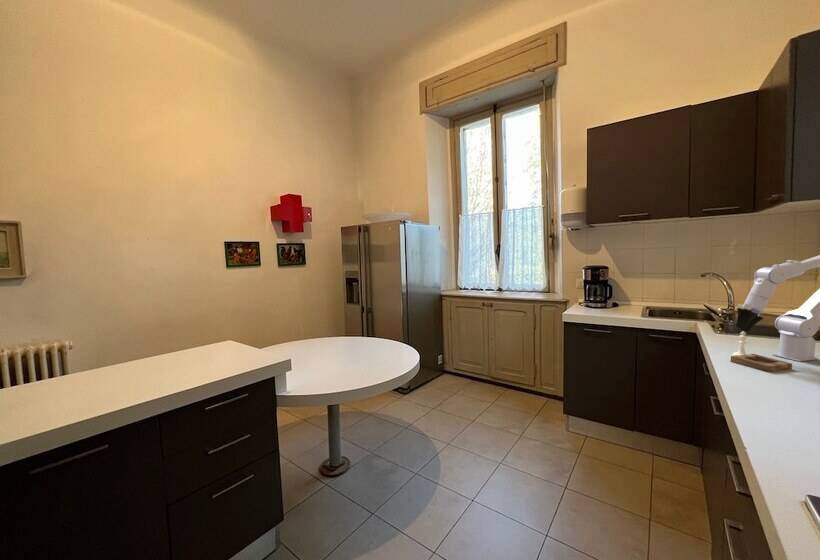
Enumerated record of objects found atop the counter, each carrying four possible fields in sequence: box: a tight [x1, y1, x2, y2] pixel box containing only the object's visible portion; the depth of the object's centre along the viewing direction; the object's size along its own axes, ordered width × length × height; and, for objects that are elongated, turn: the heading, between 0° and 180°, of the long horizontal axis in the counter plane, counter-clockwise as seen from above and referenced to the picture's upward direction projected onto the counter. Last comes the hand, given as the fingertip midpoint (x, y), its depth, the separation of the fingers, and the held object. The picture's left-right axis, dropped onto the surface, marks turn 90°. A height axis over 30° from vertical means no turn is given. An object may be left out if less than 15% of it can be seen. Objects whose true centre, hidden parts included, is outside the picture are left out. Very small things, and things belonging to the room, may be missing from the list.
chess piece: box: [732, 330, 748, 356], centre depth 127 cm, size 5×5×10 cm
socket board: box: [730, 353, 793, 373], centre depth 117 cm, size 11×11×2 cm
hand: (741, 329), depth 125 cm, fingers open, 7 cm apart
